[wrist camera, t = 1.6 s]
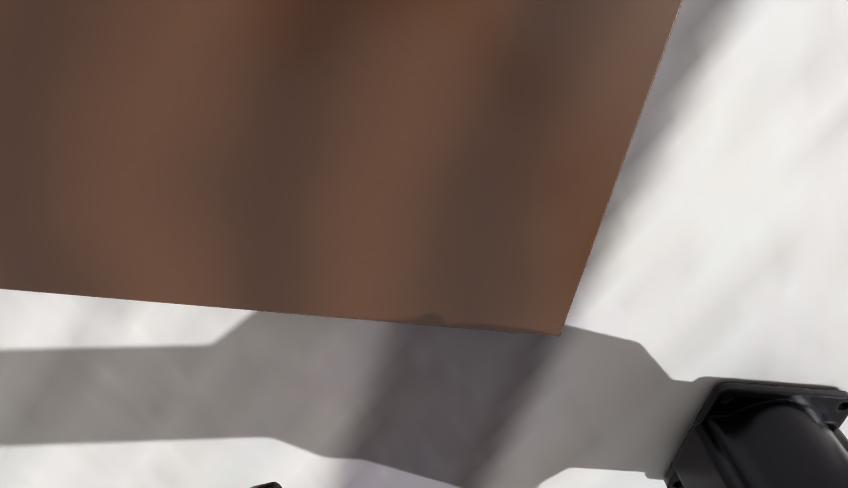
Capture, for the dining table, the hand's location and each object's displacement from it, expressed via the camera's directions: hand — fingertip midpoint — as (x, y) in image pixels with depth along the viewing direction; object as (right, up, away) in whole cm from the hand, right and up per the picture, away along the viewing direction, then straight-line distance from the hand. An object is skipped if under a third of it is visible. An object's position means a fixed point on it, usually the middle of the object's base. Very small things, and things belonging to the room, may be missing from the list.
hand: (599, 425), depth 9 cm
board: (-6, +6, +11) cm, 14 cm away
